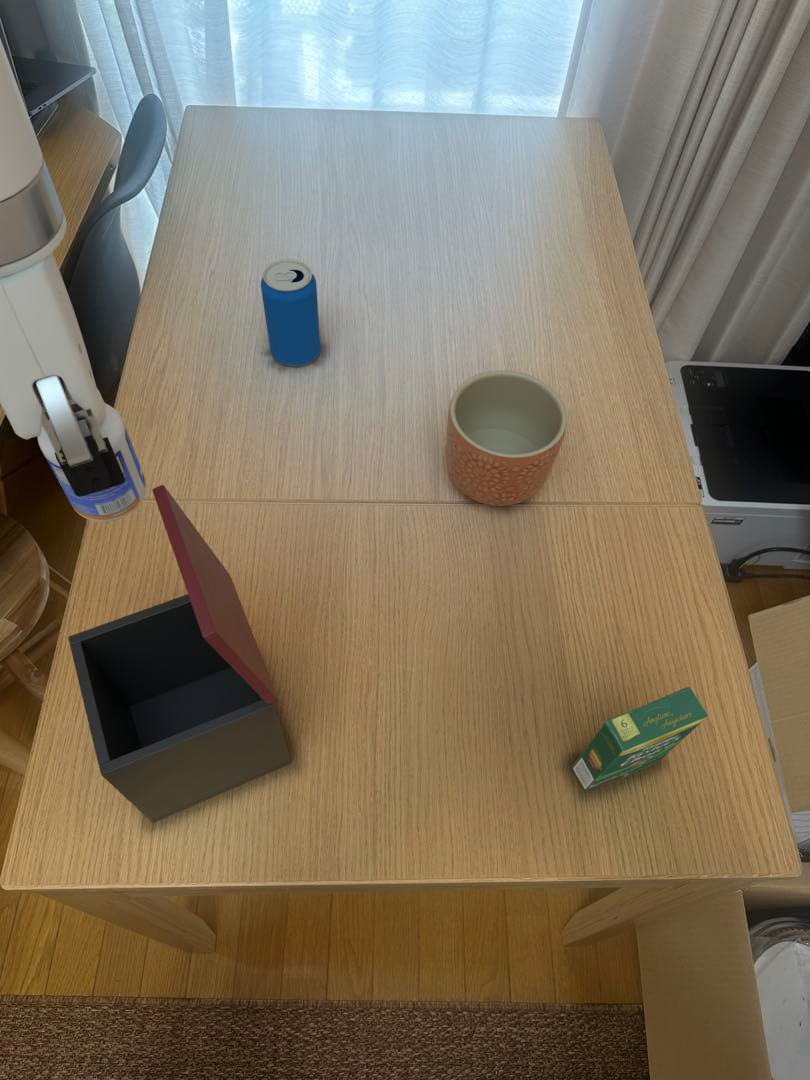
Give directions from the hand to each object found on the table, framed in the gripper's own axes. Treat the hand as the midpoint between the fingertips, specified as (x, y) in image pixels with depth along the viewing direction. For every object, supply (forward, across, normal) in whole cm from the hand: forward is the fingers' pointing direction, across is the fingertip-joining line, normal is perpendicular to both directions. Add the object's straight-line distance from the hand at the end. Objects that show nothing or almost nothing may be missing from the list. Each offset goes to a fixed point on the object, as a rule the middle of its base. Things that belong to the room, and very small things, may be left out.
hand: (89, 452), depth 50 cm
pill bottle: (+5, 0, 0) cm, 5 cm away
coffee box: (+28, +29, +32) cm, 52 cm away
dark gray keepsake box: (+28, +11, 0) cm, 30 cm away
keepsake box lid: (+6, +11, +4) cm, 13 cm away
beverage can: (+28, -33, +26) cm, 50 cm away
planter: (+28, -4, +39) cm, 48 cm away
